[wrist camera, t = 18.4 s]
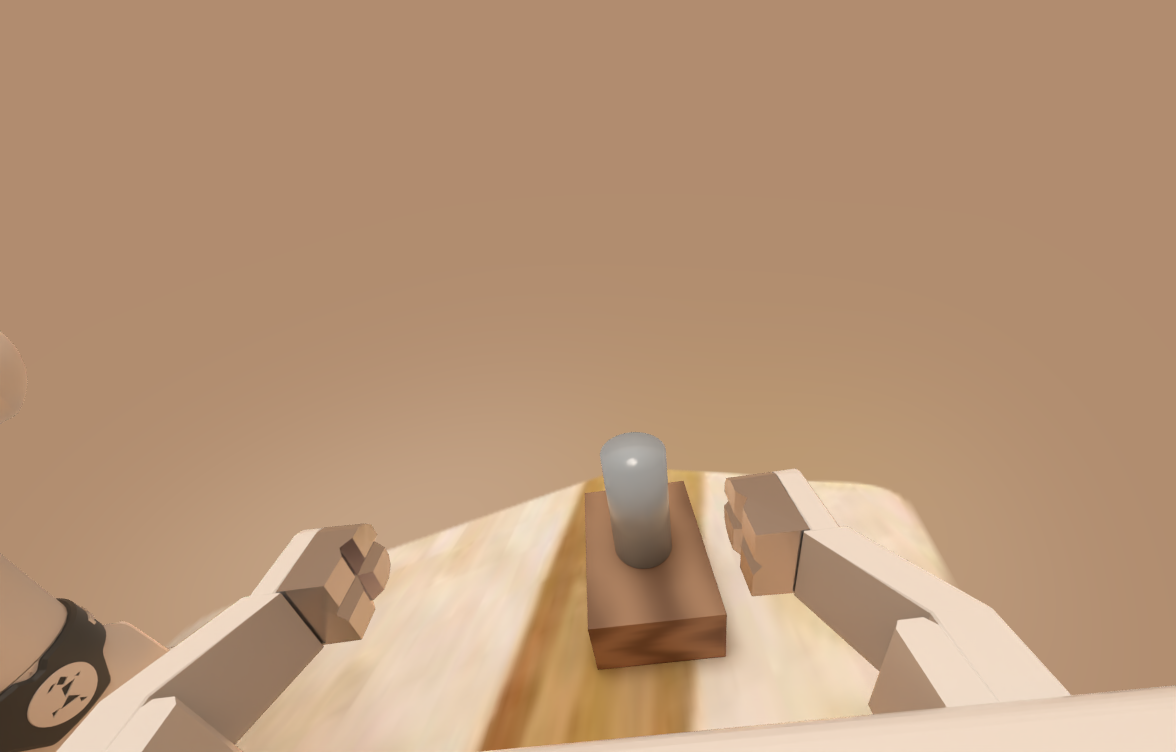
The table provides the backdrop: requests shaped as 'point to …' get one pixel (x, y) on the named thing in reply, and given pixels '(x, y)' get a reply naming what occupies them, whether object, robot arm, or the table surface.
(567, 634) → the table surface
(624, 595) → the walnut block
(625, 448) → the metal cylinder
